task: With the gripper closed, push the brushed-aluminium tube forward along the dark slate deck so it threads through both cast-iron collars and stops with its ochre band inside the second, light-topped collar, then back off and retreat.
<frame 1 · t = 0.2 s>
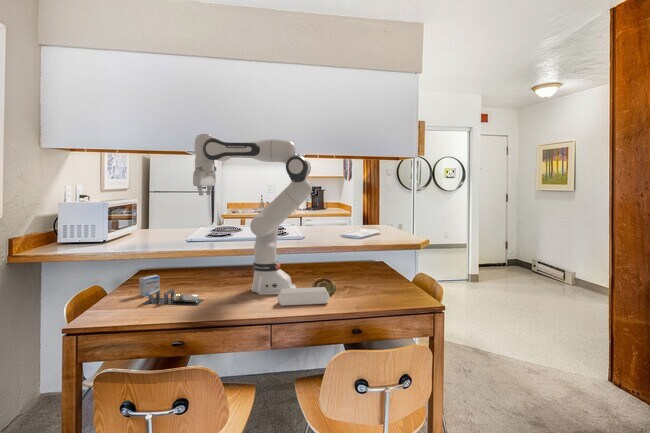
hand: (205, 195, 180), 47 cm above the table, fingers open, 8 cm apart
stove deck: (161, 301, 162), on the table
medicine box: (150, 294, 172), on the table
pastry: (324, 292, 179), on the table
tube: (185, 302, 161), resting on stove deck
white chamfered bar: (303, 303, 163), on the table
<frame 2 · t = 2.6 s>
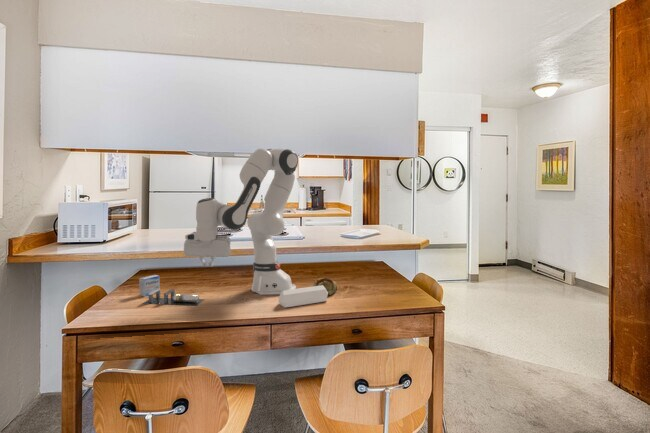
hand: (207, 266, 158), 17 cm above the table, fingers closed
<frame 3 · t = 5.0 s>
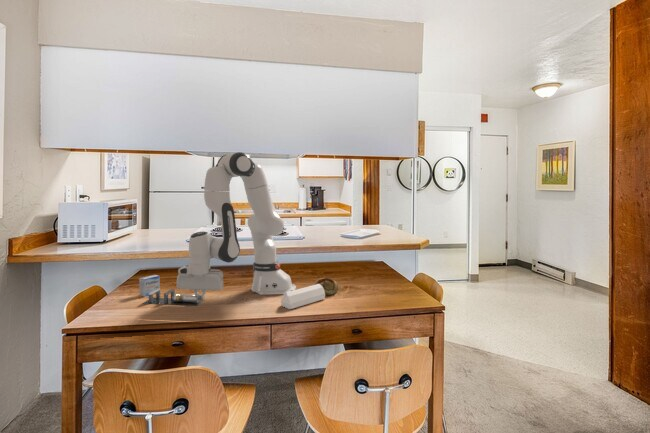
hand: (200, 299, 160), 2 cm above the table, fingers closed
tube: (185, 302, 161), resting on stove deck, touching gripper
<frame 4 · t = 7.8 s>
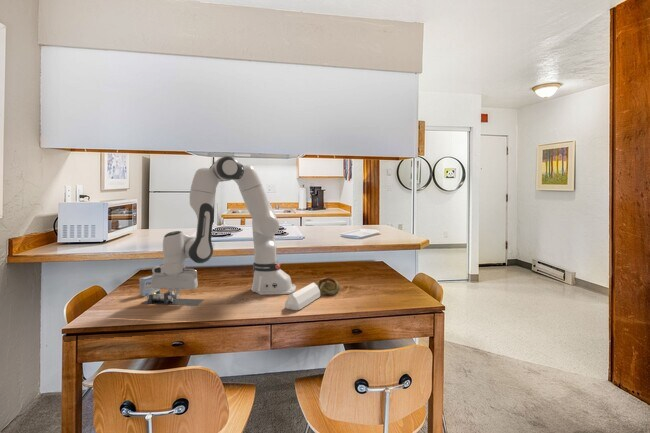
hand: (175, 298, 161), 2 cm above the table, fingers closed
tube: (160, 300, 162), resting on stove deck, touching gripper
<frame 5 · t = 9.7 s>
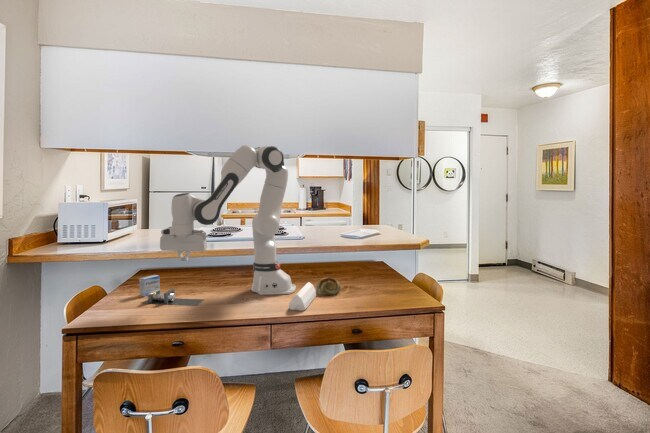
hand: (184, 260, 160), 19 cm above the table, fingers closed
tube: (160, 300, 162), resting on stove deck, tilted 19°
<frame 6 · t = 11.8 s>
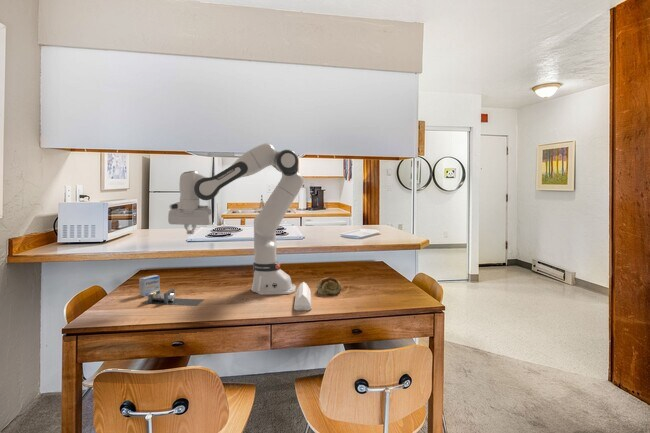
hand: (190, 234, 172), 29 cm above the table, fingers closed
at the end: tube 0.1 cm off-centre on the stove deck, point 0.5 cm above the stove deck's base; tube moved 11.7 cm from its start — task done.
